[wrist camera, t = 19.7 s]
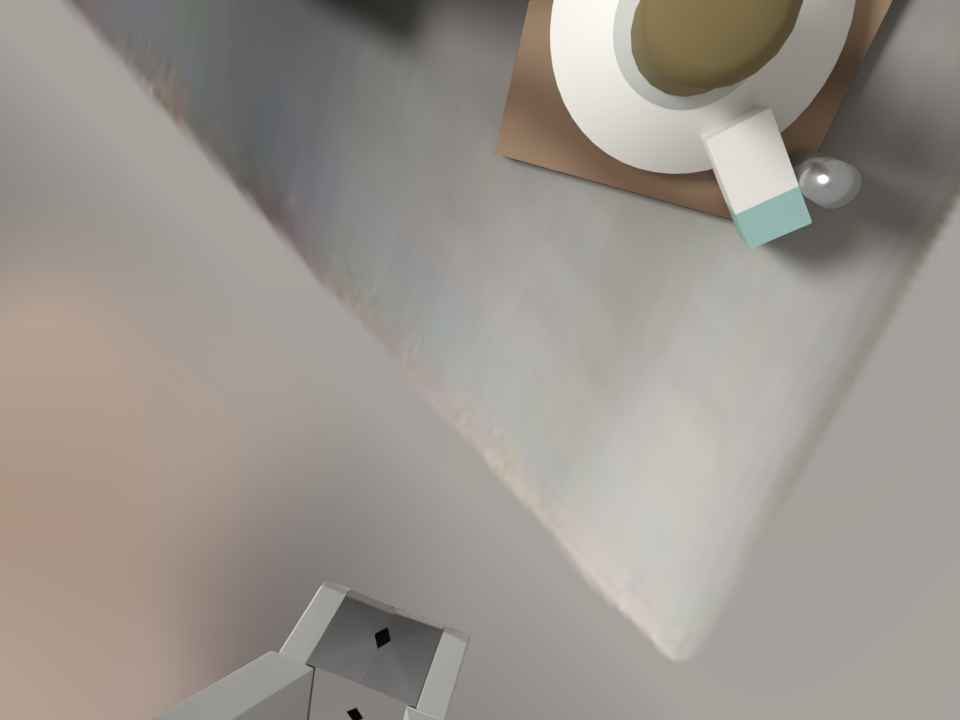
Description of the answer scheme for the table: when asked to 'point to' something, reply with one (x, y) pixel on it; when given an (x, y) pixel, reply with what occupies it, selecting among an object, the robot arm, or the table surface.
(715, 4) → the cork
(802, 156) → the dowel
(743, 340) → the table surface
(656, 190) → the wooden board
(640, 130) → the white oval plate
